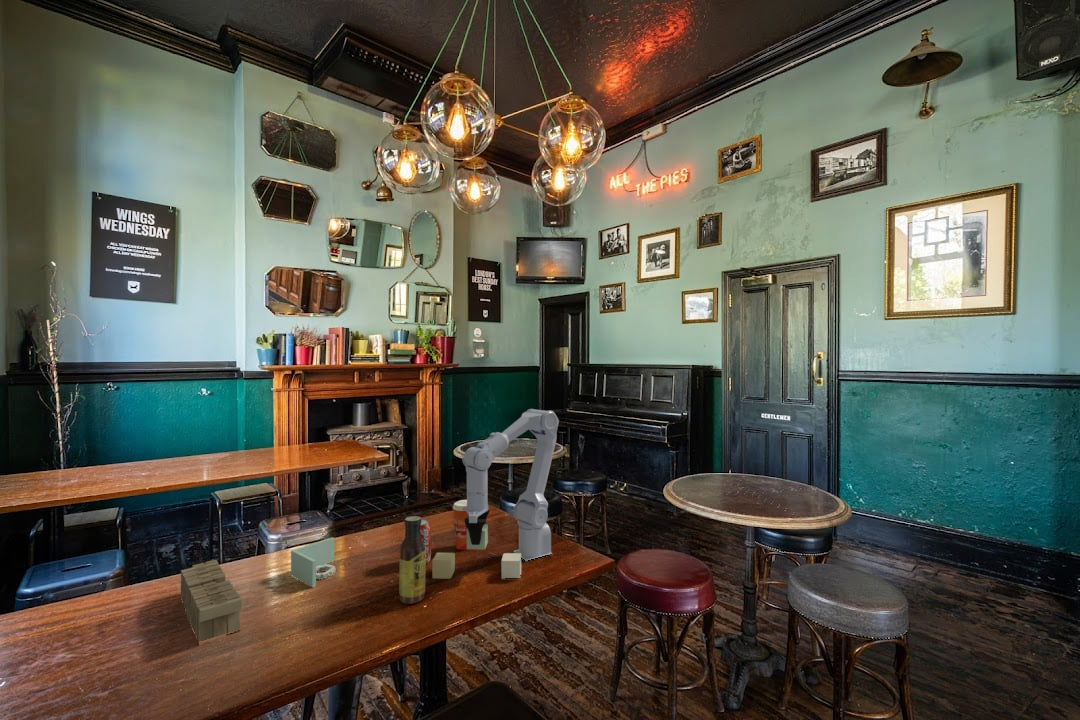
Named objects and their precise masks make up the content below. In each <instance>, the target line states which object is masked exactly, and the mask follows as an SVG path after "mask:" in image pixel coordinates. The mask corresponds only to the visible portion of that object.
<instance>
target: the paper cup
mask: <svg viewBox="0 0 1080 720" xmlns="http://www.w3.org/2000/svg"><path fill="white" fill-rule="evenodd" d="M464 506H467V499H460V500H458V501H455V502H454V503H453V506H452V510H453V522H454V535H455V548H456V550H458V551H470V549H467V529H468V528H467V526H466V525H465V522H464V520H465V518H469V515H468V513H467V511H463V507H464Z"/></svg>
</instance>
